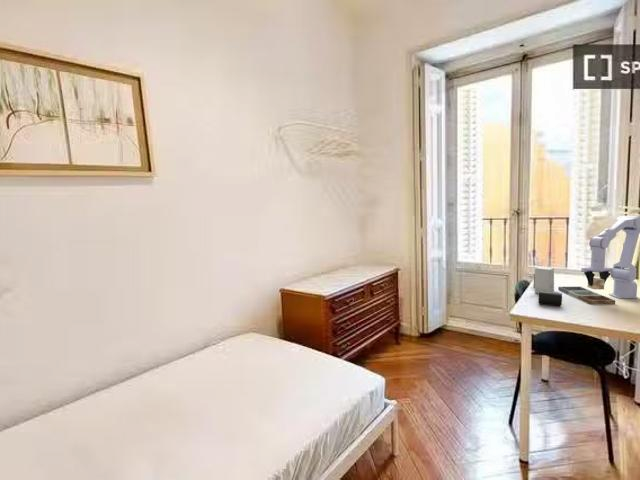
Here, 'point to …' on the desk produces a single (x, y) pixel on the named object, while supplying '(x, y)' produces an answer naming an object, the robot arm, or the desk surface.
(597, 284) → the maple letter cube
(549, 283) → the skincare box
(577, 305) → the desk surface
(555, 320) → the desk surface
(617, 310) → the desk surface
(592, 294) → the sage tray
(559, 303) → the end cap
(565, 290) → the charcoal tray
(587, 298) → the walnut tray
